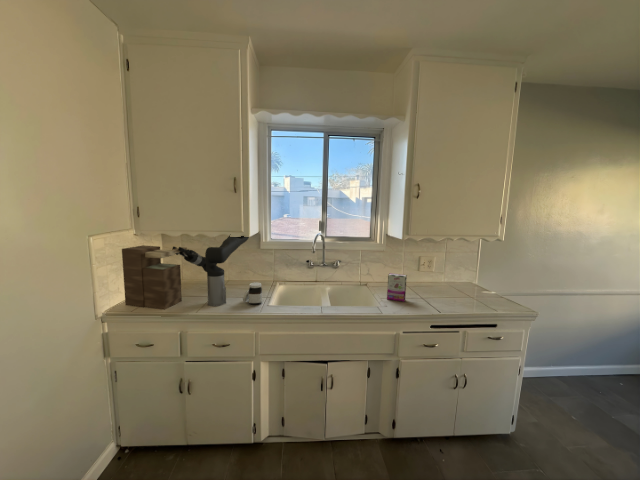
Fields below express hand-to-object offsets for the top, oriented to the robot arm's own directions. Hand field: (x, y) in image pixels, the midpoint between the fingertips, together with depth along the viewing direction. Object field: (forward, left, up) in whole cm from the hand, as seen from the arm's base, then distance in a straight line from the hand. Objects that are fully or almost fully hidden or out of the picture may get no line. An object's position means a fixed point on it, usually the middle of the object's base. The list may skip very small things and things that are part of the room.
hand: (176, 248), depth 159 cm
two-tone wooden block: (+13, +3, -31) cm, 33 cm away
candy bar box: (-111, +79, -31) cm, 140 cm away
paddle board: (+4, +3, -2) cm, 6 cm away
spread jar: (-34, +33, -31) cm, 56 cm away
